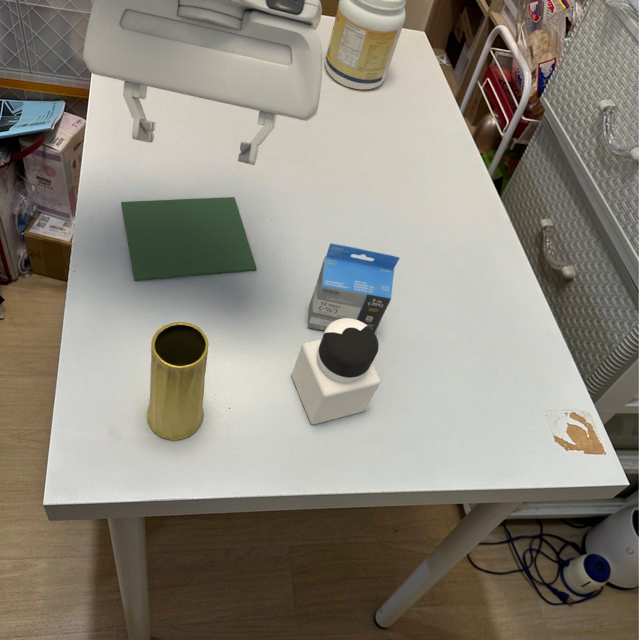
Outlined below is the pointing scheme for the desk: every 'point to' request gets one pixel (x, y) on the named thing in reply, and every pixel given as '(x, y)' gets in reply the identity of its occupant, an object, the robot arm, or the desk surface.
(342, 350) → the medicine bottle
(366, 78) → the supplement tub
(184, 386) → the vase
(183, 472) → the desk surface
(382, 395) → the desk surface
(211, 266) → the green mat
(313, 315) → the label tape box
